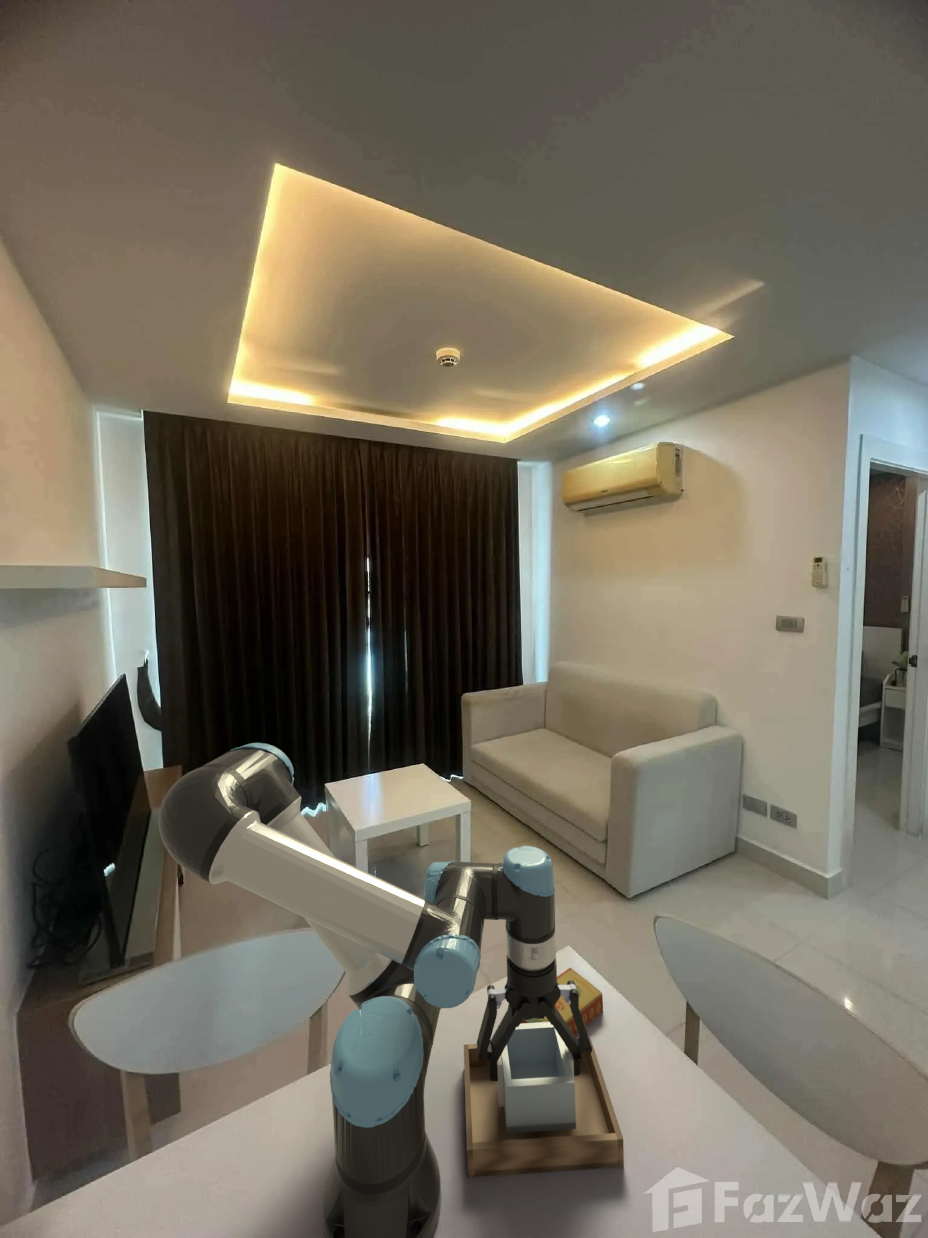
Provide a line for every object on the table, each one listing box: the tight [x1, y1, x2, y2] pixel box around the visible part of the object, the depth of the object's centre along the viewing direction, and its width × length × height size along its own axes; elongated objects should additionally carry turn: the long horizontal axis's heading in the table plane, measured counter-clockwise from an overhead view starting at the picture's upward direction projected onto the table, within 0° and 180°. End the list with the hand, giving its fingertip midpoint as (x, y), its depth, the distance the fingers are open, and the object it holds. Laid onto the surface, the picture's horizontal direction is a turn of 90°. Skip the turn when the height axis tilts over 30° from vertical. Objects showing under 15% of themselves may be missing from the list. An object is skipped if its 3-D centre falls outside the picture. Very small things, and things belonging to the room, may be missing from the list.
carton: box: [520, 967, 604, 1036], centre depth 90 cm, size 8×16×4 cm, turn 126°
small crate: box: [497, 1022, 576, 1134], centre depth 74 cm, size 10×10×7 cm
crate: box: [463, 1036, 625, 1179], centre depth 74 cm, size 22×16×4 cm
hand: (535, 1095), depth 74 cm, fingers closed on small crate, 10 cm apart
